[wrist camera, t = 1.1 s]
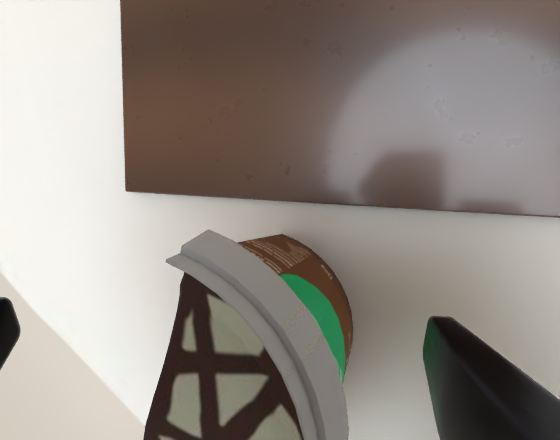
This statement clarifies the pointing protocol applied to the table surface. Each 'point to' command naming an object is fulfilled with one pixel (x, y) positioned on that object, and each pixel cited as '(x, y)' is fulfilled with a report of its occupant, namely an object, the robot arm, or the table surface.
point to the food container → (254, 345)
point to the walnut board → (346, 102)
